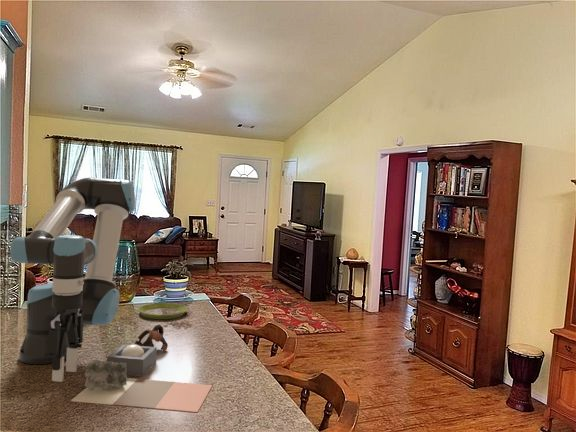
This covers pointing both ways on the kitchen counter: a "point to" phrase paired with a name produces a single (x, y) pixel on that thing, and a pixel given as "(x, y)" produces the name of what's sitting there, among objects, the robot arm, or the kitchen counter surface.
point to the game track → (149, 395)
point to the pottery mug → (153, 337)
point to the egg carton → (105, 374)
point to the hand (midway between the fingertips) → (64, 375)
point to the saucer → (162, 305)
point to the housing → (135, 360)
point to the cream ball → (133, 351)
